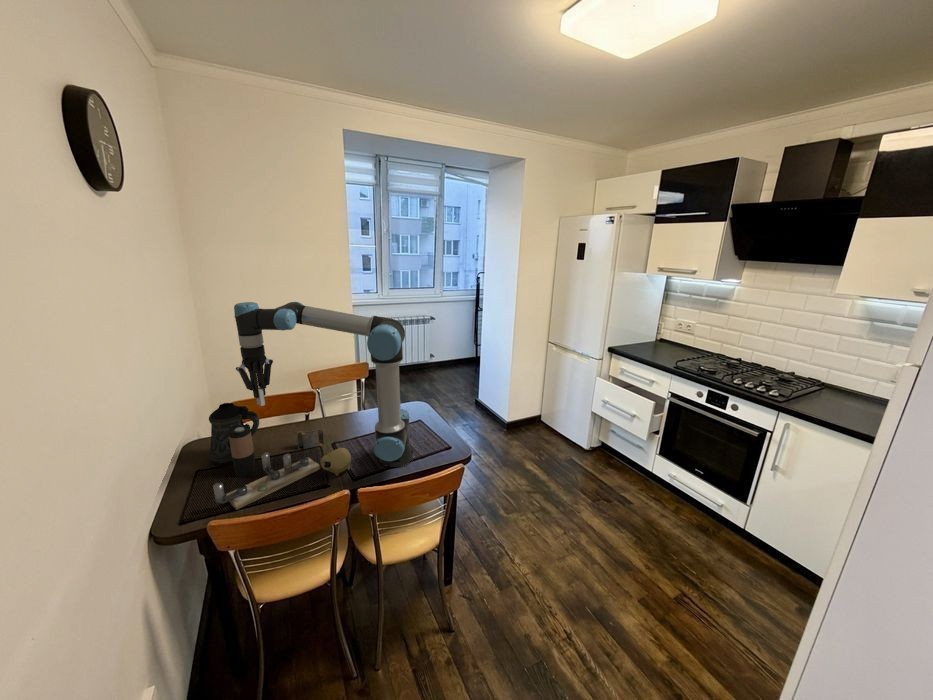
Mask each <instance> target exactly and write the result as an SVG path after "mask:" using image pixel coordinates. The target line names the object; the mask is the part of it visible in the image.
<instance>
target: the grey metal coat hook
mask: <svg viewBox="0 0 933 700" xmlns="http://www.w3.org/2000/svg"><path fill="white" fill-rule="evenodd" d="M212 488H213V493H214V498H215V503H217V504H222V505H223V504H225V503H228V502H229V501H230V500H232V499H234V498H236V497H238V496H243V495H245V494H247V492H248V491H247V486H245V485H240V486H238V487H237V488H236V489H237V491H236V492H234V493H232V494H230V495H227V496H226V493H225V489H224V483H223V482H216V483H214V484H213V485H212Z"/></svg>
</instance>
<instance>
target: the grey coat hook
mask: <svg viewBox="0 0 933 700" xmlns="http://www.w3.org/2000/svg"><path fill="white" fill-rule="evenodd" d="M291 457H292V455H291V454H290V453H285V454H283V455H282V461H283V468H284V471H285V472H292V471H294V470H296V469H298V468H300V467H302V466H307V465H308V464H309V460H308V458H307V457H303V458H301V459H300V460H299V461H300V463H298V464H296V465H293V466H292V464H293V463H292V458H291Z"/></svg>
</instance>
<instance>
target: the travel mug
mask: <svg viewBox="0 0 933 700" xmlns="http://www.w3.org/2000/svg"><path fill="white" fill-rule="evenodd" d="M250 429H251V426H250V424H248V423H245V424H244V425H239V424H238V425H234V426H232V427H230V428H229V429H228V434H229V440H230V447H231V454H232V459H233V464H234V466H233V468H234V474H235V475H236V476H237V477H243V478H244V477H247V476H250V475H252V474H254V473H255V472H256V469H257V466H256V461H255V460H256V457H255V451H254V450H255V448H254V445H253V438H252V437H253V436H251V430H250Z"/></svg>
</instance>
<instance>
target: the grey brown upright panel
mask: <svg viewBox="0 0 933 700" xmlns="http://www.w3.org/2000/svg"><path fill="white" fill-rule="evenodd" d="M296 440H297V441H296V442H297V449H298V451H299V450H300V448H301V447H303V449H310V448H315V447H323V446H325V444H326V443H325V442H326V441H325V433H324V428H320V429H314V430H307V431H303V430H301V431H297V432H296Z"/></svg>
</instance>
